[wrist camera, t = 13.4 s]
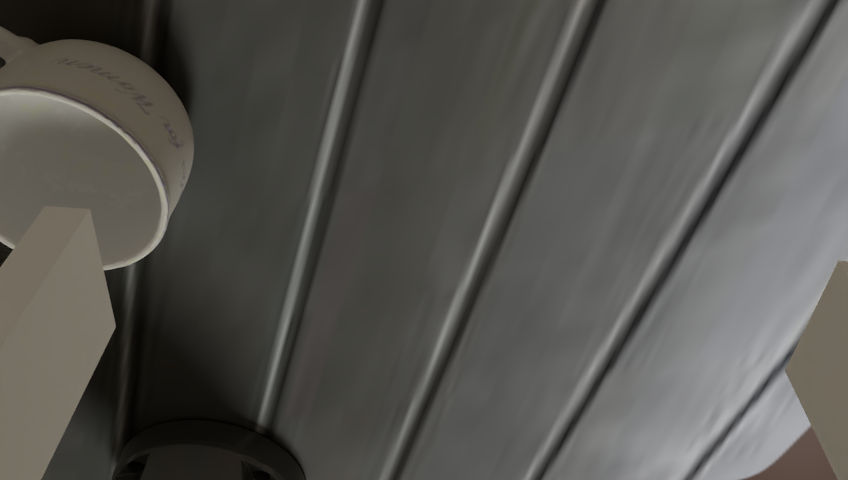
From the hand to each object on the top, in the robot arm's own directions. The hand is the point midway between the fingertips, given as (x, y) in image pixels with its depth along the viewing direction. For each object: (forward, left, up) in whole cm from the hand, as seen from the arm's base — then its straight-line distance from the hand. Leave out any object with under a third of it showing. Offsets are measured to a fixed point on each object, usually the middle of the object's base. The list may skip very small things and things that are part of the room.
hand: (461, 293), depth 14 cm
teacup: (-11, +19, -28) cm, 35 cm away
